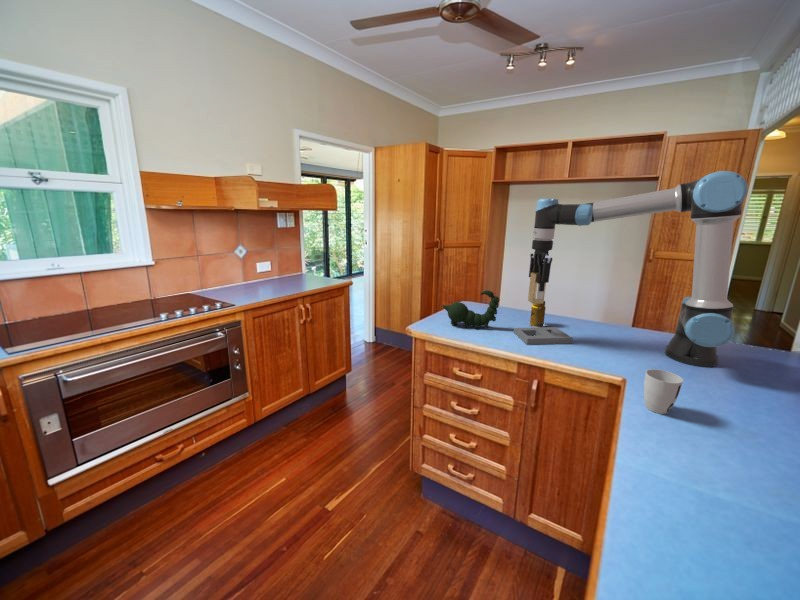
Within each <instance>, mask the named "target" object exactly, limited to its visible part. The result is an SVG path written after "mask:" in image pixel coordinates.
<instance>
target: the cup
mask: <svg viewBox="0 0 800 600" xmlns="http://www.w3.org/2000/svg"><path fill="white" fill-rule="evenodd" d="M683 382H684V379H683V378H682V377H681V376H679V375H678V374H676V373H674V372H671V371H668V370H667V371H666V370H663V369H656V368H655V369H654V368H652V369H650V368H649V369H647V370H645V374H644V383H643V399H644V405H645V408H646V409H647V410H648V409H649V410H648V411H650V412H652V411H653V413H655V412H656V413H655V414H658V413H660V414H659V415H667V414H668V413H669V412H670V410H672V408H673V406H674V405H675V402H676V401H677V400H678V398H679V397H678V396H679V395H680V392H681V389H682V385H683ZM666 413H667V414H666Z"/></svg>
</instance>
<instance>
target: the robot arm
mask: <svg viewBox="0 0 800 600" xmlns="http://www.w3.org/2000/svg"><path fill="white" fill-rule="evenodd" d="M748 190H749V189H748V183H747V180H746V179H745V178H744V177H743V175H741V174H739V173H738V172H735V171H729V170H719V171H715V172H711V173H709V174H707V175H705V176H703V177H701V178H699V179H696V180H693V181H689V182H684V183H679V184H677V186H675V187H673V188H669V189H668V188H667V189H663V190H657V191H651V192H650V191H649V192H644V193H639V194H633V195H629V196H623V197H616V198H610V199H606V200H599V201H595V202H594V201H593V202H587V203H581V204H580V203H579V204H578V203H571V204H570V203H569V204H568V203H566V204H564V203H563V204H561V203H559V199H557V198H539V199H538V200H537V203H536V208H535V217H534V226H533V227H534V228H533V231H532V234H533V235H532V236H533V239H532V245H531V249H532V250H534V252H533V253H530V255H529V256H530V261H529V271H528V277H529V278H530V277H531V272H539V282H537V290H536V299H543V293H544V285H545V283H546V284H547V283H549V282H550V281H549V280H550V275H551V266H552V262H553V257H550V256H549V252H550V251H552V250H553V245H554V241H553V240H554V239H555V230H556V225H559V226H560V225H565V226H566V225H567V226H579V227H582V226H589V225H591V223H596V222H602V221H609V220H615V219H616V220H617V219H623V218H629V217H636V216H644V215H650V214H651V215H652V214H658V213H664V212H672V211H676V212H678V213H685V212H686V213H687V212H690V221H692V222H693V223H694V224H695V225H696V227H695V240H694V241H695V242H694V255H693V256H694V257H693V271H692V285H691V286H692V287H691V296H685V297H684V298H682V299H683V300H682V302H681V304H680V305H681V307H680V311H679V315H678V320H677V322H676V323H677V324H676V328H675V332H674V335H673V337H672V338H671V339H670V341H669V343H668V344H667V345H666V347H665V348H664V349H665V351H664V355H666V356H667V357H668V358H670V359H672V360H674V361H677V362H680V363H682V364H687V365H691V366H697V367H705V368H706V367H707V368H709V367H716V366H717V365H718V363H719V362H718V361H719V356H718V351H717V348H718V347H721V346H723V345H725V344H727V343H729V342H730V341H731V340H732V339H733V337H734V336H735V335H734V334H735V330H736V329H735V324H734V322H733V313H734V311H733V309H734V304H733V303H732V302H731V301H730V300H729V299H728V293H729V291H728V290H729V279H730V268H731V259H732V258H731V257H732V244H733V235H734V222H735V221H737V220H738V219H739V218H740V217H742V210H743V201H744V200H745V198H746V197H747V194H748Z"/></svg>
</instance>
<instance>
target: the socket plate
mask: <svg viewBox="0 0 800 600" xmlns="http://www.w3.org/2000/svg"><path fill="white" fill-rule="evenodd" d="M513 334H514V335H515V336H516V335H517V336H518V337H517V336H516V337H517V338H518V339H520V341H522V342H523V343H524V344H525V345H557V344H558V345H563V344H564V345H566V344H568V345H569V344H572V342H573V337H572V336H570V335H569V334H567V333H566V332H564V331H563V330H561V329H560V328H558V327H556V326H554V327H553V326H552V327H538V328H537V327H536V328H534V327H514V329H513ZM532 335H535V336H532Z"/></svg>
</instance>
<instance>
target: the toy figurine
mask: <svg viewBox="0 0 800 600" xmlns="http://www.w3.org/2000/svg"><path fill="white" fill-rule="evenodd" d="M494 294H495V293H494V292H493V291H491V290H488V289H486V290H483V291H482V292H480V296H482V295H486V296H488V298H490V302H489V303H488V307H487V308H486V311H485V312H484V313H475V311H474V310H471V309H469V308H468V307H467V305H466V304H464V303H463V302H460V301H457V302H453V303H451V304H450V305H446V304H445V305H441V307H442V308H443V309H445V311H446V312H447V316H448V318H449V320H450V324H451V325H452V326H454V325H455V326H457V325H458V323H463V325H464V327H465V328H469V327H470V326H473V328H474V329H475V330H478V329H479V328H480V327H481V326H483V327H484V328H485V329H487V328H488V327H489V323H490V322H491V321H492V322H496V320H497V317H496V315H497V314H498V308H499V302H500V298H499V296H497V295H494Z"/></svg>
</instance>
